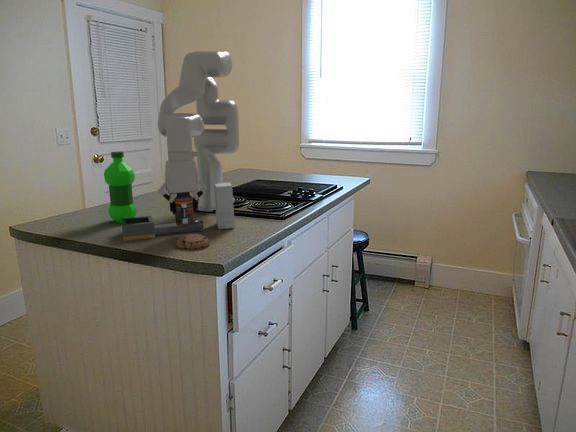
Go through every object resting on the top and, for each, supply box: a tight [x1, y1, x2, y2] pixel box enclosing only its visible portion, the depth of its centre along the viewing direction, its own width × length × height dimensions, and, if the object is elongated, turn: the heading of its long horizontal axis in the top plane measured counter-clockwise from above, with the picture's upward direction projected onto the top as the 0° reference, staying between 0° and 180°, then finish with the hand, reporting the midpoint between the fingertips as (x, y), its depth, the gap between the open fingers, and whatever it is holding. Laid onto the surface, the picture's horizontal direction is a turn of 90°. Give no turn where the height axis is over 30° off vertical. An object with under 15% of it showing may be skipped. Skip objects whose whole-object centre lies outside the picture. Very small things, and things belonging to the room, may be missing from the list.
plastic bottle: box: [103, 151, 137, 224], centre depth 165 cm, size 10×10×25 cm
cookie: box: [175, 233, 210, 251], centre depth 140 cm, size 10×11×3 cm
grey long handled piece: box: [121, 215, 204, 242], centre depth 152 cm, size 26×10×5 cm, turn 111°
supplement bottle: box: [174, 192, 195, 226], centre depth 147 cm, size 6×6×11 cm
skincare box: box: [214, 182, 236, 230], centre depth 159 cm, size 8×6×15 cm
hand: (184, 211), depth 147 cm, fingers closed on supplement bottle, 6 cm apart
